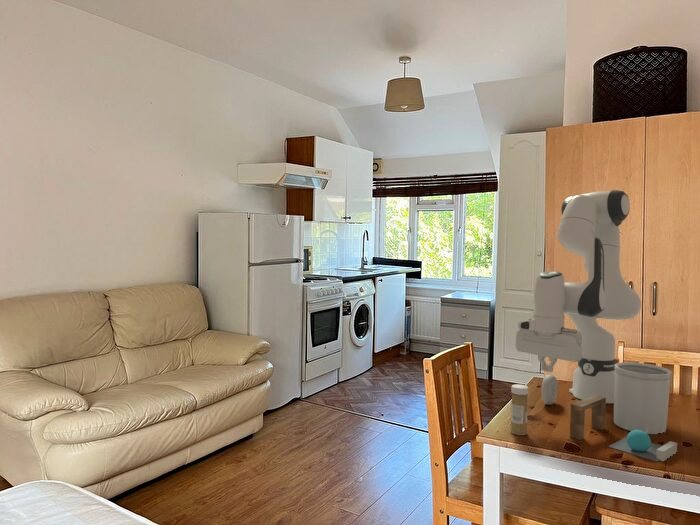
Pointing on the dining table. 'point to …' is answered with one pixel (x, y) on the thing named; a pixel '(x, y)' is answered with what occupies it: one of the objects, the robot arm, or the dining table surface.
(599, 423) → the bridge
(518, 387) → the sprinkles bottle
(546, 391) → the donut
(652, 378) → the utensil holder
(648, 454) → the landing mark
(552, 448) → the dining table surface
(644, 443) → the ball
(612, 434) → the dining table surface
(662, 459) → the stopper wall
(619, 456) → the dining table surface
